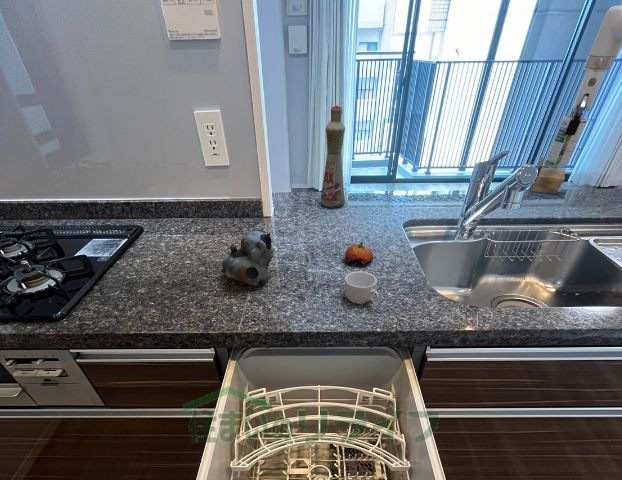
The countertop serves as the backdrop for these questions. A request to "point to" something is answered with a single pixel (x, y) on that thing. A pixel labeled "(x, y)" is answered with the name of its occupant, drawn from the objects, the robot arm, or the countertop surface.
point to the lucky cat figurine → (250, 259)
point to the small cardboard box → (548, 179)
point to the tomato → (358, 253)
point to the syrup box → (564, 144)
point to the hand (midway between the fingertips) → (569, 131)
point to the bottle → (334, 162)
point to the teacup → (360, 287)
